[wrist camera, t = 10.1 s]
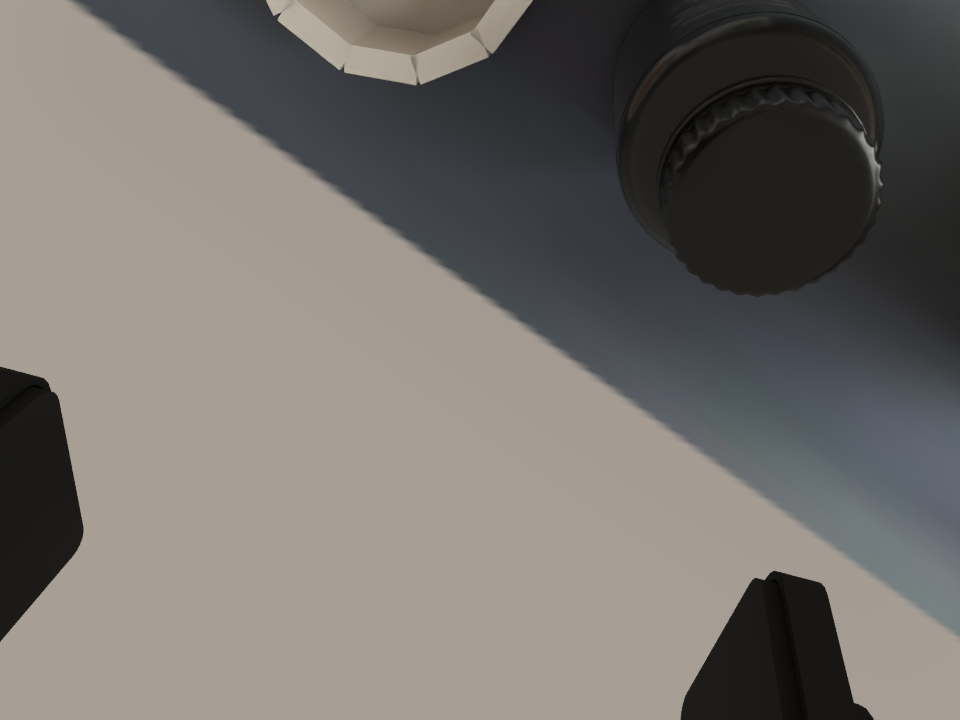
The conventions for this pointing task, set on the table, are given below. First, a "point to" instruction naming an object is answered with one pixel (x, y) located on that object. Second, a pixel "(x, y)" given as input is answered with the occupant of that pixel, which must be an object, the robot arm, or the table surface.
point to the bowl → (400, 33)
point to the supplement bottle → (747, 140)
